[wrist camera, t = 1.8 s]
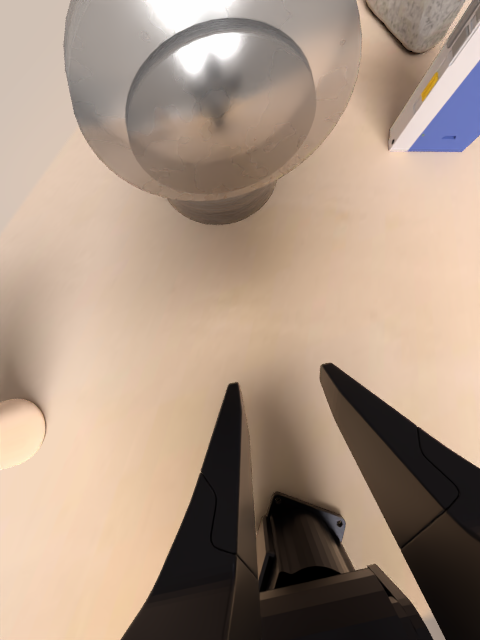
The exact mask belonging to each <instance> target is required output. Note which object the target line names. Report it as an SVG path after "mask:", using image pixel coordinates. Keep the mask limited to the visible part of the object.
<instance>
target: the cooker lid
mask: <svg viewBox="0 0 480 640" xmlns="http://www.w3.org/2000/svg"><path fill="white" fill-rule="evenodd" d="M361 46H362V32H361V25H360V17H359V11H358V6H357V1H356V0H71V1H70V5H69V9H68V13H67V16H66V25H65V36H64V60H65V71H66V76H67V81H68V86H69V91H70V96H71V100H72V105H73V110H74V114H75V117H76V119H77V122H78V124H79V127H80V130H81V132H82V134H83V135H84V137H85V139H86V141H87V143H88V144H89V146H90V147H91V149H92V150H93V151H94V153H95V154H96V155H97V157H98V158H99V159H100V160H101V161H102V162H103V163H104V164H105V165H106V166H107V167H108V168H109V169H110V170H111V171H113V172H114V173H115V174H116V175H118V176H119V177H120V178H122V179H123V180H125V181H127V182H128V183H130V184H131V185H133V186H135V187H137V188H139V189H141V190H144V191H146V192H149V193H151V194H155V195H158V196H161V197H165V198H170V199H176V200H184V201H211V200H220V199H226V198H230V197H235V196H239V195H242V194H245V193H248V192H251V191H254V190H256V189H259V188H261V187H263V186H266V185H268V184H270V183H272V182H274V181H275V180H277V179H279V178H281V177H282V176H284V175H285V174H287V173H288V172H290V171H291V170H293V169H294V168H295V167H297V166H298V165H299V164H301V163H302V162H303V161H304V160H305V159H306V158H308V157H309V156H310V155H311V154H312V153H313V152H314V151H315V150H316V149H317V148H318V147H319V146H320V145H321V144H322V142H323V141H324V140H325V139H326V138H327V136H328V135H329V134H330V132H331V131H332V130H333V128H334V127H335V125H336V124H337V122H338V121H339V119H340V117H341V115H342V114H343V112H344V110H345V108H346V106H347V104H348V102H349V99H350V97H351V95H352V92H353V89H354V86H355V83H356V79H357V76H358V71H359V66H360V60H361Z"/></svg>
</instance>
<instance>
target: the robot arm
mask: <svg viewBox="0 0 480 640" xmlns="http://www.w3.org/2000/svg"><path fill="white" fill-rule="evenodd" d="M320 382H321V385H322V388H323V390H324V393H325V396H326V398H327V401H328V404H329V406H330V409H331V412H332V414H333V417H334V419H335V421H336V423H337V425H338V427H339V429H340V431H341V433H342V435H343V437H344V439H345V441H346V443H347V445H348V447H349V449H350V451H351V453H352V455H353V457H354V459H355V461H356V463H357V465H358V467H359V469H360V471H361V473H362V475H363V477H364V479H365V481H366V483H367V485H368V487H369V488H370V490H371V492H372V494H373V496H374V498H375V500H376V502H377V504H378V506H379V508H380V510H381V512H382V514H383V516H384V518H385V520H386V522H387V524H388V526H389V528H390V530H391V532H392V534H393V536H394V538H395V540H396V542H397V544H398V546H399V548H400V549H401V552H402V554H403V556H404V558H405V560H406V562H407V564H408V566H409V568H410V570H411V572H412V574H413V576H414V578H415V580H416V582H417V583H418V585H419V587H420V589H421V591H422V593H423V595H424V597H425V599H426V601H427V603H428V605H429V607H430V609H431V611H432V613H433V615H434V617H435V619H436V621H437V623H438V625H439V627H440V629H441V631H442V633H443V635H444V637H445V639H446V640H480V468H478V467H477V466H475V465H473V464H472V463H470V462H469V461H467V460H466V459H464V458H463V457H461V456H459V455H458V454H456V453H455V452H453V451H452V450H450V449H449V448H447V447H446V446H444V445H443V444H442V443H440V442H439V441H437V440H436V439H435V438H433V437H432V436H430V435H429V434H428V433H426V432H425V431H424V430H422V429H421V428H419V427H417V426H416V425H415V424H414V423H413V422H411V421H410V420H408V419H407V418H406V417H404V416H403V415H402V414H400V413H399V412H398V411H396V410H395V409H394V408H392V407H391V406H389V405H388V404H387V403H385V402H384V401H383V400H381V399H380V398H379V397H377V396H376V395H375V394H373V393H372V392H370V391H369V390H368V389H366V388H365V387H364V386H362V385H361V384H360V383H358V382H357V381H356V380H354V379H353V378H351V377H350V376H349V375H347V374H346V373H345V372H343V371H342V370H341V369H339V368H338V367H337V366H335V365H334V364H332V363H326V364H322V365H321V366H320ZM276 498H280V500H279V501H276V500H275V499H276ZM337 521H341V522H340V524H337ZM345 525H346V523H345V521H344V519H343V517H342V516H341V515H339V514H336V513H334V512H331V511H328V510H326V509H323V508H320V507H317V506H315V505H312V504H309V503H307V502H304V501H301V500H299V499H296V498H293V497H291V496H288V495H285V494H283V493H280V492H275V493H274V494H273V495H272V498H271V501H270V505H269V508H268V512H267V515H266V516H263V517H262V519H261V523H260V526H259V529H258V533H257V536H256V533H255V517H254V501H253V485H252V469H251V453H250V438H249V431H248V425H247V419H246V414H245V408H244V403H243V397H242V393H241V389H240V385H239V383H238V382H235V383H230V384H229V385H228V387H227V390H226V393H225V396H224V400H223V403H222V406H221V409H220V412H219V415H218V418H217V421H216V425H215V428H214V431H213V434H212V437H211V440H210V443H209V446H208V450H207V453H206V456H205V459H204V462H203V465H202V468H201V473H200V474H199V477H198V480H197V484H196V487H195V489H194V492H193V495H192V498H191V501H190V504H189V506H188V509H187V511H186V514H185V516H184V519H183V521H182V523H181V526H180V528H179V530H178V533H177V535H176V537H175V540H174V542H173V544H172V547H171V549H170V551H169V554H168V556H167V558H166V561H165V563H164V565H163V568H162V570H161V572H160V574H159V576H158V579H157V581H156V583H155V585H154V587H153V589H152V591H151V593H150V595H149V596H148V598H147V600H146V602H145V603H144V605H143V607H142V608H141V610H140V611H139V613H138V614H137V616H136V617H135V619H134V620H133V622H132V623H131V625H130V626H129V628H128V629H127V631H126V632H125V634H124V635H123V637H122V638H121V640H433V638H432V636H431V634H430V633H429V631H428V629H427V627H426V625H425V623H424V622H423V620H422V618H421V617H420V615H419V613H418V612H417V610H416V609H415V607H414V606H413V604H412V603H411V602H410V600H409V599H408V598H407V597H406V596H405V595H404V594H403V593H402V591H401V590H400V589H399V588H398V587H397V586H396V585H395V584H394V583H393V582H392V581H391V580H390V579H389V578H388V577H387V576H386V575H385V573H384V572H383V571H382V570H381V569H380V568H379V567H378V566H377V565H376V564H373V565H368V566H367V567H368V568H365V569H360V570H356V571H355V569H354V567H353V565H352V563H351V561H350V559H349V557H348V555H347V553H346V551H345V549H344V547H343V545H342V543H341V542H342V538H343V534H344V530H345Z"/></svg>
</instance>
